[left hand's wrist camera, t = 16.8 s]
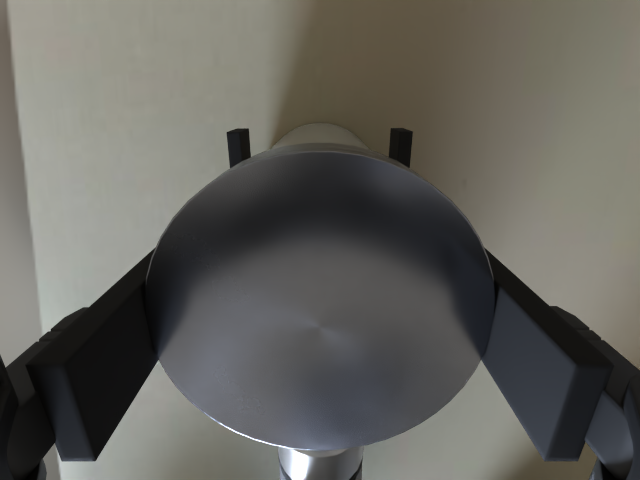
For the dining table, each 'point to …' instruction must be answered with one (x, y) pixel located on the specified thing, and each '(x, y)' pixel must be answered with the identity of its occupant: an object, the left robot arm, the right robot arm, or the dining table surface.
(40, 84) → the dining table surface
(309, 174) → the lid
